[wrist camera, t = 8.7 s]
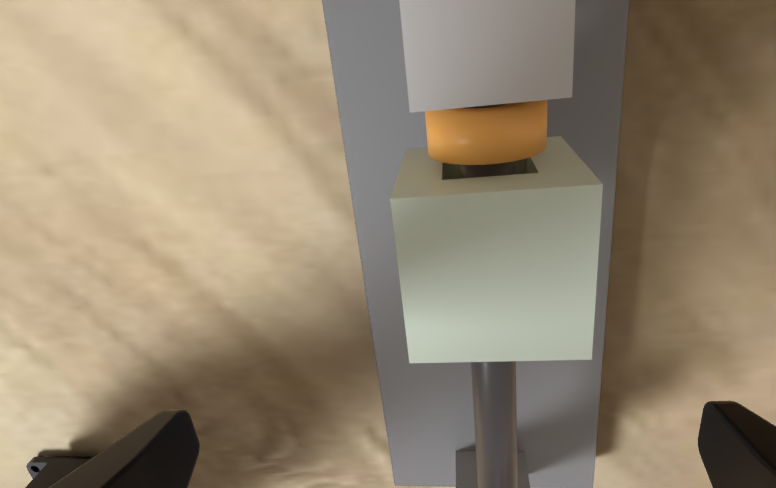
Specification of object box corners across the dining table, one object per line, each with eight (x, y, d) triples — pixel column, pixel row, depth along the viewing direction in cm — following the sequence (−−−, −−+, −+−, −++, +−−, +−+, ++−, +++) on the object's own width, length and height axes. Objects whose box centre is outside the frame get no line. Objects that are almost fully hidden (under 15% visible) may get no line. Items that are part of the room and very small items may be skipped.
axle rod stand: (585, 461, 24) (653, 692, 16) (397, 460, 25) (372, 672, 17) (619, -78, 15) (816, -180, 7) (327, -36, 16) (205, -80, 8)
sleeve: (556, 273, 15) (591, 359, 11) (419, 279, 15) (409, 363, 12) (560, 135, 13) (602, 184, 9) (406, 148, 14) (390, 198, 10)
